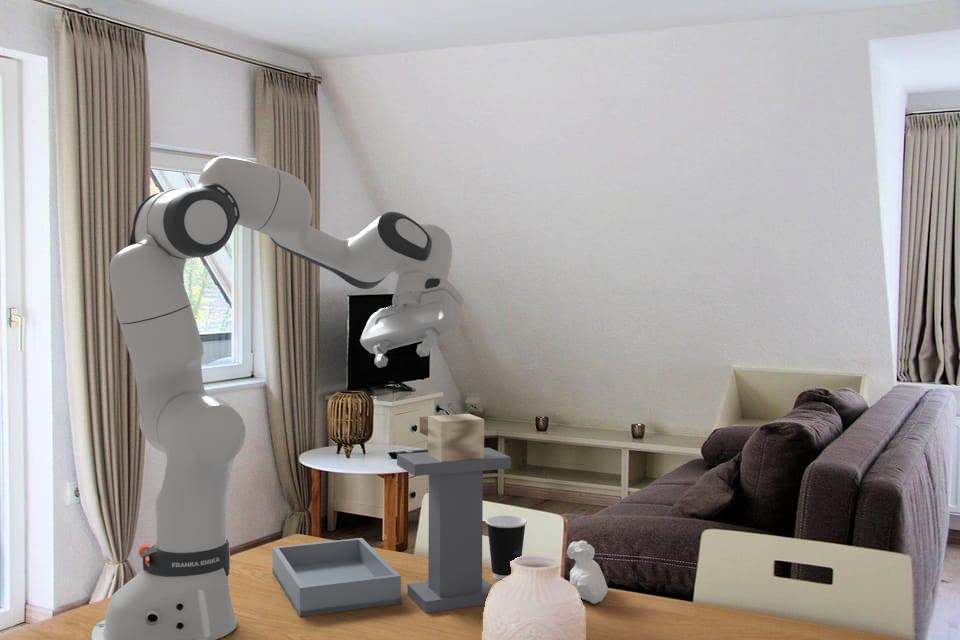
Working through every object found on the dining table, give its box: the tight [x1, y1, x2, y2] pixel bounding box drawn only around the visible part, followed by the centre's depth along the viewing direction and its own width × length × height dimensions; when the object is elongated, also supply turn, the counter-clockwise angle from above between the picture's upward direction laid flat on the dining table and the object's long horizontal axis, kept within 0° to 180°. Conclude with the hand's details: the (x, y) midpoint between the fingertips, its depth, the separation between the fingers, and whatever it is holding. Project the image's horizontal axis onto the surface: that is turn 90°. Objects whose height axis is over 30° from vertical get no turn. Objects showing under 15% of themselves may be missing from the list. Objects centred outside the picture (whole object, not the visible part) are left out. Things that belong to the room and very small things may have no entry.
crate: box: [272, 537, 402, 618], centre depth 176 cm, size 18×26×5 cm
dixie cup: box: [485, 515, 528, 581], centre depth 183 cm, size 8×8×11 cm
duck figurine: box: [566, 539, 609, 605], centre depth 172 cm, size 12×8×11 cm
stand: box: [396, 447, 512, 614], centre depth 170 cm, size 18×10×26 cm, turn 112°
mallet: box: [419, 413, 485, 462], centre depth 174 cm, size 8×19×7 cm, turn 22°
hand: (400, 359), depth 166 cm, fingers open, 8 cm apart
